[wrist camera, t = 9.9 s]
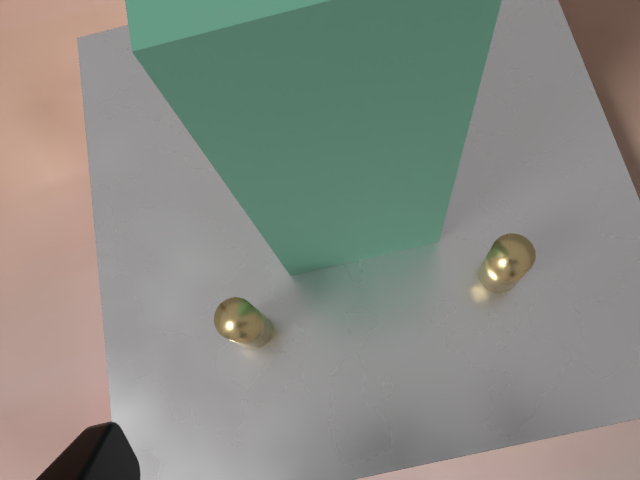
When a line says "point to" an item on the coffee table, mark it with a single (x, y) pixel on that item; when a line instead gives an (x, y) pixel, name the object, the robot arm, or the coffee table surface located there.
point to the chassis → (368, 287)
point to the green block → (324, 111)
